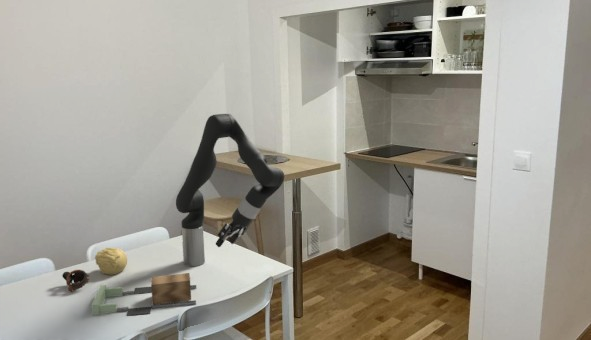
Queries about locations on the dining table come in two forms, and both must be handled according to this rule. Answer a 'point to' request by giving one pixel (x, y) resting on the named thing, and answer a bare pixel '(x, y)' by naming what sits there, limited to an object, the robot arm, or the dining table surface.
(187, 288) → the walnut block
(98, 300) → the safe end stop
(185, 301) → the lane rails
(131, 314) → the mats
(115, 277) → the dining table surface
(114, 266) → the sculpture
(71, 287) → the pottery mug
